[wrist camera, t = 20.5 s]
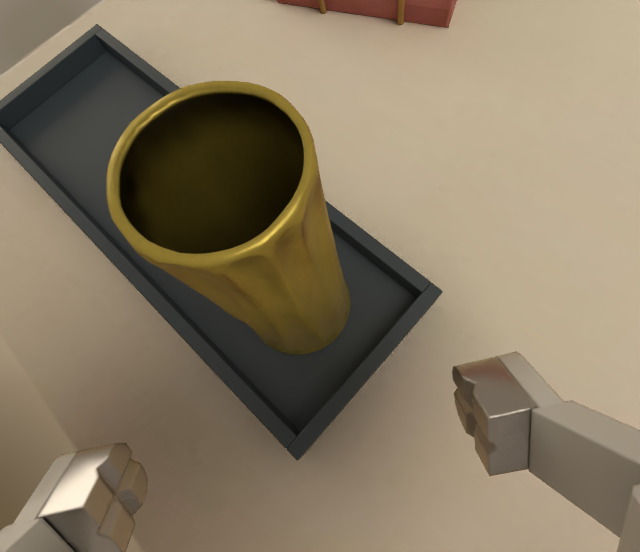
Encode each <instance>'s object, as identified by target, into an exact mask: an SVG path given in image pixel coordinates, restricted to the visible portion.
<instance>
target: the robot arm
mask: <svg viewBox="0 0 640 552" xmlns="http://www.w3.org/2000/svg"><path fill="white" fill-rule="evenodd" d="M452 374H453V381H454V382H455V384H456V386H457V390H456V391H455V393H454V397H455V405H456V408H457V412H458V415H459V418H460V420H461V423H462V425H463V427H464V429H465V431H466V433H467V434H469V435H471V436H472V437H474V438H475V450H476V452H477V454H478V456H479V457H480V459H481V461H482V463H483V465H484V467H485V469H486V471H487V472H488V474H489V476H493V475H498V474H503V473H509V472H514V471H519V470H525V469H529V471H530V472H531V473H532V474H534V475H535V476H536V477H538V478H539V479H541V480H542V481H543V482H545V483H546V484H547V485H549V486H550V487H551V488H553V489H554V490H556V491H557V492H558V493H560V494H561V495H562V496H564V497H565V498H566V499H568V500H569V501H571V502H572V503H573V504H575V505H576V506H577V507H579V508H580V509H582V510H583V511H584V512H586V513H587V514H588V515H590V516H591V517H592V518H594V519H595V520H597V521H598V522H599V523H601V524H602V525H603V526H605V527H606V528H607V529H609V530H610V531H612V532H613V533H614V534H616V535H617V536H618V537H620V541H619V545H618V549H617V552H640V430H638V429H636V428H634V427H631V426H629V425H627V424H624V423H622V422H620V421H618V420H615V419H613V418H611V417H608V416H606V415H604V414H601V413H599V412H597V411H595V410H592V409H590V408H588V407H585V406H583V405H581V404H578V403H576V402H574V401H566V402H564V401H563V400H562V399H561V397H560V396H559V395H558V394H557V393H556V392H555V391H554V390H553V389H552V387H551V386H550V385H549V384H548V383H547V382H546V381H545V380H544V379H543V378H542V376H541V375H540V374H539V373H538V372H537V371H536V370H535V369H534V368H533V367H532V365H531V364H530V363H529V362H528V361H527V360H526V359H525V358H524V357H523V356H522V354H520V353H518V352H513V353H509V354H504V355H500V356H496V357H495V358H494V357H492V358H488V359H484V360H480V361H475V362H471V363H467V364H463V365H459V366H454V367H453V370H452ZM131 455H132V451H131V449H130V448H129V447H128V445H127V444H126V443H116V444H111V445H106V446H101V447H96V448H91V449H86V450H81V451H78V452H73V453H68V454H63V455H61V456H59V457H58V458H57V459H55V460H54V461H53V463H52V465H51V466H50V468H49V469H48V471H47V472H46V474H45V475H44V477H43V478H42V480H41V481H40V483H39V484H38V486H37V488H36V489H35V491H34V492H33V494H32V495H31V497H30V498H29V500H28V501H27V503H26V504H25V506H24V508H23V509H22V511H21V512H20V514H19V515H18V517H17V518H16V520H15V521H14V523H13V524H11V525H7V526H5V527H4V528H3V529H2V530H1V531H0V552H126V549H127V546H128V544H129V541H130V538H131V535H132V533H133V530H134V527H135V521H134V518H133V515H134V514H135V513H136V511H137V510H138V509H139V508H140V507H141V506H142V505H143V502H144V499H145V496H146V493H147V476H146V473H145V470H144V468H143V467H142V465H141V464H140V463H138V462H136V461H134V460H132V459H131Z"/></svg>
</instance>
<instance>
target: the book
mask: <svg viewBox="0 0 640 552" xmlns="http://www.w3.org/2000/svg"><path fill="white" fill-rule="evenodd" d="M456 1H457V0H277V2H278V3H285V4H292V5H299V6H305V7H312V8H319V9H320V10H321V13H325V12H327V11H326V10H333V11H339V12H346V13H353V14H360V15H367V16H374V17H380V18H387V19H394V20H397V23H398V24H399V25H402V24H403V23H404V21H408V22H415V23H421V24H428V25H435V26H442V27H449V24H450V20H451V17H452V14H453V11H454V8H455V4H456Z"/></svg>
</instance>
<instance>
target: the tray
mask: <svg viewBox="0 0 640 552" xmlns="http://www.w3.org/2000/svg"><path fill="white" fill-rule="evenodd" d="M178 89H180V88H179V87H178V86H177V85H175V84H174V83H173V82H171V81H170V80H169V79H168V78H166V77H165V76H164V75H162V74H161V73H160V72H159V71H157V70H156V69H155V68H153V67H152V66H151V65H150V64H148V63H147V62H146V61H144V60H143V59H142V58H140V57H139V56H138V55H137V54H135V53H134V52H133V51H131V50H130V49H129V48H128V47H126V46H125V45H124V44H122V43H121V42H120V41H118V40H117V39H116V38H115V37H113V36H112V35H111V34H109V33H108V32H107V31H106V30H104V29H103V28H102V27H100V26H99V25H98V24H96V25H95V26H94V27H92V28H91V29H90V30H89V31H87V32H86V33H85V34H84V35H82V36H81V37H80V38H79V39H77V40H76V41H75V42H73V43H72V44H71V45H70V46H68V47H67V48H66V49H65V50H63V51H62V52H61V53H60V54H58V55H57V56H56V57H55V58H53V59H52V60H51V61H50V62H48V63H47V64H46V65H45V66H43V67H42V68H41V69H39V70H38V71H37V72H36V73H34V74H33V75H32V76H31V77H29V78H28V79H27V80H26V81H24V82H23V83H22V84H21V85H19V86H18V87H17V88H16V89H14V90H13V91H12V92H10V93H9V94H8V95H7V96H5V97H4V98H3V99H2V100H0V143H1V144H2V145H3V146H4V147H5V148H6V149H7V150H8V151H9V153H10V154H11V155H12V156H13V157H14V158H15V159H16V160H17V161H18V162H19V163H20V164H21V165H22V166H23V168H24V169H25V170H26V171H27V172H28V173H29V174H30V175H31V176H32V177H33V178H34V179H35V180H36V181H37V183H38V184H39V185H40V186H41V187H42V188H43V189H44V190H45V191H46V192H47V193H48V194H49V195H50V196H51V198H52V199H53V200H54V201H55V202H56V203H57V204H58V205H59V206H60V207H61V208H62V209H63V210H64V211H65V213H66V214H67V215H68V216H69V217H70V218H71V219H72V220H73V221H74V222H75V223H76V224H77V225H78V226H79V228H80V229H81V230H82V231H83V232H84V233H85V234H86V235H87V236H88V237H89V238H90V239H91V240H92V241H93V243H94V244H95V245H96V246H97V247H98V248H99V249H100V250H101V251H102V252H103V253H104V254H105V255H106V256H107V258H108V259H109V260H110V261H111V262H112V263H113V264H114V265H115V266H116V267H117V268H118V269H119V270H120V271H121V273H122V274H123V275H124V276H125V277H126V278H127V279H128V280H129V281H130V282H131V283H132V284H133V285H134V286H135V288H136V289H137V290H138V291H139V292H140V293H141V294H142V295H143V296H144V297H145V298H146V299H147V300H148V301H149V302H150V304H151V305H152V306H153V307H154V308H155V309H156V310H157V311H158V312H159V313H160V314H161V315H162V316H163V317H164V319H165V320H166V321H167V322H168V323H169V324H170V325H171V326H172V327H173V328H174V329H175V330H176V331H177V332H178V334H179V335H180V336H181V337H182V338H183V339H184V340H185V341H186V342H187V343H188V344H189V345H190V346H191V347H192V349H193V350H194V351H195V352H196V353H197V354H198V355H199V356H200V357H201V358H202V359H203V360H204V361H205V362H206V364H207V365H208V366H209V367H210V368H211V369H212V370H213V371H214V372H215V373H216V374H217V375H218V376H219V377H220V379H221V380H222V381H223V382H224V383H225V384H226V385H227V386H228V387H229V388H230V389H231V390H232V391H233V392H234V394H235V395H236V396H237V397H238V398H239V399H240V400H241V401H242V402H243V403H244V404H245V405H246V406H247V407H248V409H249V410H250V411H251V412H252V413H253V414H254V415H255V416H256V417H257V418H258V419H259V420H260V421H261V422H262V424H263V425H264V426H265V427H266V428H267V429H268V430H269V431H270V432H271V433H272V434H273V435H274V436H275V437H276V438H277V440H278V441H279V442H280V443H281V444H282V445H283V446H284V447H285V448H287V450H288V451H289V452H290V453H291V455H292V456H293V457H294V458H295V459H296V460H299V459H300V458H301V457H302V456H303V455H304V454H305V453H306V451H307V450H308V449H309V448H310V447H311V446H312V444H313V443H314V442H315V441H316V440H317V439H318V437H319V436H320V435H321V434H322V433H323V432H324V430H325V429H326V428H327V427H328V426H329V425H330V423H331V422H332V421H333V420H334V419H335V418H336V416H337V415H338V414H339V413H340V412H341V411H342V409H343V408H344V407H345V406H346V405H347V404H348V402H349V401H350V400H351V399H352V398H353V397H354V395H355V394H356V393H357V392H358V391H359V390H360V388H361V387H362V386H363V385H364V384H365V383H366V381H367V380H368V379H369V378H370V377H371V376H372V374H373V373H374V372H375V371H376V370H377V369H378V367H379V366H380V365H381V364H382V363H383V362H384V360H385V359H386V358H387V357H388V356H389V355H390V353H391V352H392V351H393V350H394V349H395V348H396V346H397V345H398V344H399V343H400V342H401V341H402V339H403V338H404V337H405V336H406V335H407V334H408V332H409V331H410V330H411V329H412V328H413V327H414V325H415V324H416V323H417V322H418V321H419V320H420V319H421V317H422V316H423V315H424V314H425V313H426V312H427V310H428V309H429V308H430V307H431V306H432V305H433V303H434V302H435V301H436V300H437V298H438V297H439V296H440V295H441V294H442V290H440V289H439V288H438V287H436V286H435V285H434V284H433V283H431V282H430V281H429V280H427V279H426V278H425V277H424V276H422V275H421V274H420V273H418V272H417V271H416V270H415V269H413V268H412V267H411V266H409V265H408V264H407V263H405V262H404V261H403V260H402V259H400V258H399V257H398V256H396V255H395V254H394V253H393V252H391V251H390V250H389V249H387V248H386V247H385V246H383V245H382V244H381V243H380V242H378V241H377V240H376V239H374V238H373V237H372V236H371V235H369V234H368V233H367V232H365V231H364V230H363V229H362V228H360V227H359V226H358V225H356V224H355V223H354V222H352V221H351V220H350V219H349V218H347V217H346V216H345V215H343V214H342V213H341V212H340V211H338V210H337V209H336V208H334V207H333V206H332V205H330V204H329V203H328V202H327V201H325V203H326V208H327V212H328V216H329V220H330V225H331V229H332V232H333V236H334V241H335V246H336V251H337V255H338V259H339V262H340V266H341V269H342V273H343V277H344V280H345V282H346V284H347V286H348V289H349V292H350V312H349V316H348V319H347V322H346V324H345V326H344V328H343V330H342V331H341V333H340V334H339V335H338V336H337V338H336V339H335V340H334V341H333V342H331V343H330V344H329V345H328V346H326V347H325V348H323V349H321V350H318V351H315V352H312V353H308V354H302V355H294V354H288V353H284V352H280V351H278V350H275V349H273V348H271V347H270V346H268V345H266V344H265V343H264V342H263V341H262V339H261V338H260V337H259V336H258V334H257V333H256V332H255V331H254V330H253V329H252V328H251V327H250V326H248V325H247V324H246V323H244V322H242V321H240V320H238V319H237V318H235V317H233V316H232V315H230V314H228V313H227V312H226V311H224V310H223V309H222V308H221V307H219V306H218V305H216V304H215V303H213V302H212V301H211V300H209V299H208V298H207V297H205V296H204V295H202V294H200V293H199V292H197V291H195V290H194V289H192V288H190V287H189V286H187V285H186V284H184V283H183V282H181V281H180V280H178V279H177V278H175V277H174V276H172V275H171V274H169V273H168V272H166V271H164V270H163V269H161V268H159V267H158V266H156V265H154V264H152V263H150V262H148V261H147V260H145V259H144V258H143V257H142V256H141V255H139V254H138V253H137V252H136V251H135V250H134V249H133V247H132V246H131V245H130V243H129V242H128V241H127V240H126V238H125V237H124V236H123V234H122V233H121V232H120V230H119V229H118V228H117V226H116V225H115V223H114V221H113V220H112V218H111V215H110V212H109V208H108V202H107V197H106V174H107V169H108V163H109V161H110V158H111V155H112V152H113V150H114V148H115V146H116V144H117V142H118V140H119V139H120V137H121V135H122V134H123V132H124V131H125V130H126V128H127V127H128V126H129V124H130V123H131V122H132V121H133V120H134V119H135V118H136V117H137V116H139V115H140V114H141V113H142V112H143V111H145V110H146V109H147V108H149V107H150V106H151V105H153V104H154V103H155V102H157V101H158V100H160V99H161V98H163V97H164V96H166V95H168V94H170V93H172V92H174V91H176V90H178Z"/></svg>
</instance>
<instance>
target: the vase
mask: <svg viewBox="0 0 640 552" xmlns="http://www.w3.org/2000/svg"><path fill="white" fill-rule="evenodd" d="M106 197H107V202H108V208H109V212H110V215H111V218H112V220H113V221H114V223H115V225H116V226H117V228H118V229H119V230H120V232H121V233H122V234H123V236H124V237H125V238H126V240H127V241H128V242H129V243H130V245H131V246H132V247H133V249H134V250H135V251H136V252H137V253H138V254H139V255H141V256H142V257H143V258H144V259H145V260H147V261H148V262H150V263H152V264H154V265H156V266H158V267H159V268H161V269H163V270H164V271H166V272H168V273H169V274H171V275H172V276H174V277H175V278H177V279H178V280H180V281H181V282H183V283H184V284H186V285H187V286H189V287H190V288H192V289H194V290H195V291H197V292H199V293H200V294H202V295H204V296H205V297H207V298H208V299H209V300H211V301H212V302H213V303H215V304H216V305H218V306H219V307H221V308H222V309H223V310H224V311H226V312H227V313H228V314H230V315H232V316H233V317H235V318H237V319H238V320H240V321H242V322H244V323H246V324H247V325H248V326H250V327H251V328H252V329H253V330H254V331H255V332H256V333H257V334H258V336H259V337H260V338H261V339H262V341H263V342H264V343H265V344H266V345H268V346H270V347H271V348H273V349H275V350H278V351H280V352H284V353H288V354H294V355H302V354H308V353H312V352H315V351H318V350H321V349H323V348H325V347H326V346H328V345H329V344H330V343H331V342H333V341H334V340H335V339H336V338H337V336H338V335H339V334H340V333H341V331H342V330H343V328H344V326H345V324H346V322H347V319H348V316H349V312H350V292H349V289H348V286H347V284H346V282H345V280H344V277H343V273H342V269H341V266H340V262H339V259H338V255H337V251H336V246H335V241H334V236H333V232H332V229H331V225H330V220H329V216H328V212H327V208H326V203H325V198H324V194H323V189H322V184H321V179H320V174H319V168H318V162H317V156H316V151H315V146H314V140H313V137H312V134H311V132H310V129H309V127H308V125H307V123H306V122H305V120H304V119H303V117H302V116H301V115H300V114H299V112H298V111H297V110H296V109H295V108H294V107H293V106H292V105H291V104H290V103H289V102H288V101H287V100H286V99H285V98H284V97H283V96H281V95H280V94H279V93H277V92H275V91H272V90H270V89H268V88H265V87H263V86H260V85H257V84H252V83H248V82H238V81H212V82H204V83H199V84H194V85H190V86H186V87H183V88H180V89H178V90H176V91H174V92H172V93H170V94H168V95H166V96H164V97H163V98H161V99H160V100H158V101H157V102H155V103H154V104H153V105H151V106H150V107H149V108H147V109H146V110H145V111H143V112H142V113H141V114H140V115H139V116H137V117H136V118H135V119H134V120H133V121H132V122H131V123H130V124H129V126H128V127H127V128H126V130H125V131H124V132H123V134H122V135H121V137H120V139H119V140H118V142H117V144H116V146H115V148H114V150H113V152H112V155H111V158H110V161H109V163H108V169H107V174H106Z"/></svg>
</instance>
